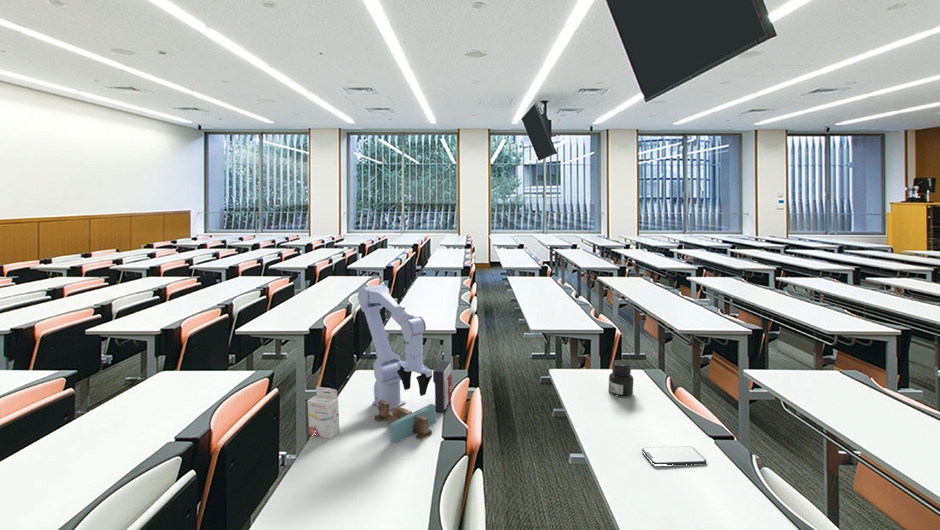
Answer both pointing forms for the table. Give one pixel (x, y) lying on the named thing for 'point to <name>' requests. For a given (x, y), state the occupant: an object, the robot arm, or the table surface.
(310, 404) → the ink cartridge box
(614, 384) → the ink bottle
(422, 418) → the walnut stand
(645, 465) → the table surface
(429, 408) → the teal plate
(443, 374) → the dark grey box
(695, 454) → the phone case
